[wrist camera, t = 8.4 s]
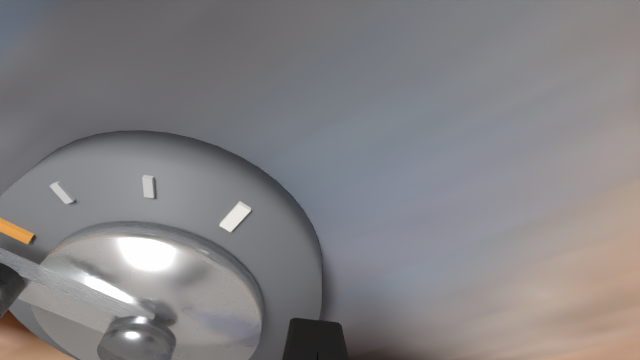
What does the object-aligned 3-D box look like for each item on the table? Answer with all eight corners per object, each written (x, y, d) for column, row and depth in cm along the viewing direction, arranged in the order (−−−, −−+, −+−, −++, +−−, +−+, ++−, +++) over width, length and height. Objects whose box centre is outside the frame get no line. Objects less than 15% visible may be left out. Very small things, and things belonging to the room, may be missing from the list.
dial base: (300, 362, 28) (297, 401, 26) (51, 335, 27) (25, 373, 24) (350, 161, 19) (353, 194, 17) (-29, 102, 17) (-82, 130, 15)
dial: (306, 292, 20) (299, 408, 15) (201, 384, 25) (172, 493, 20) (4, 134, 15) (-141, 231, 10) (-51, 287, 20) (-166, 400, 15)
